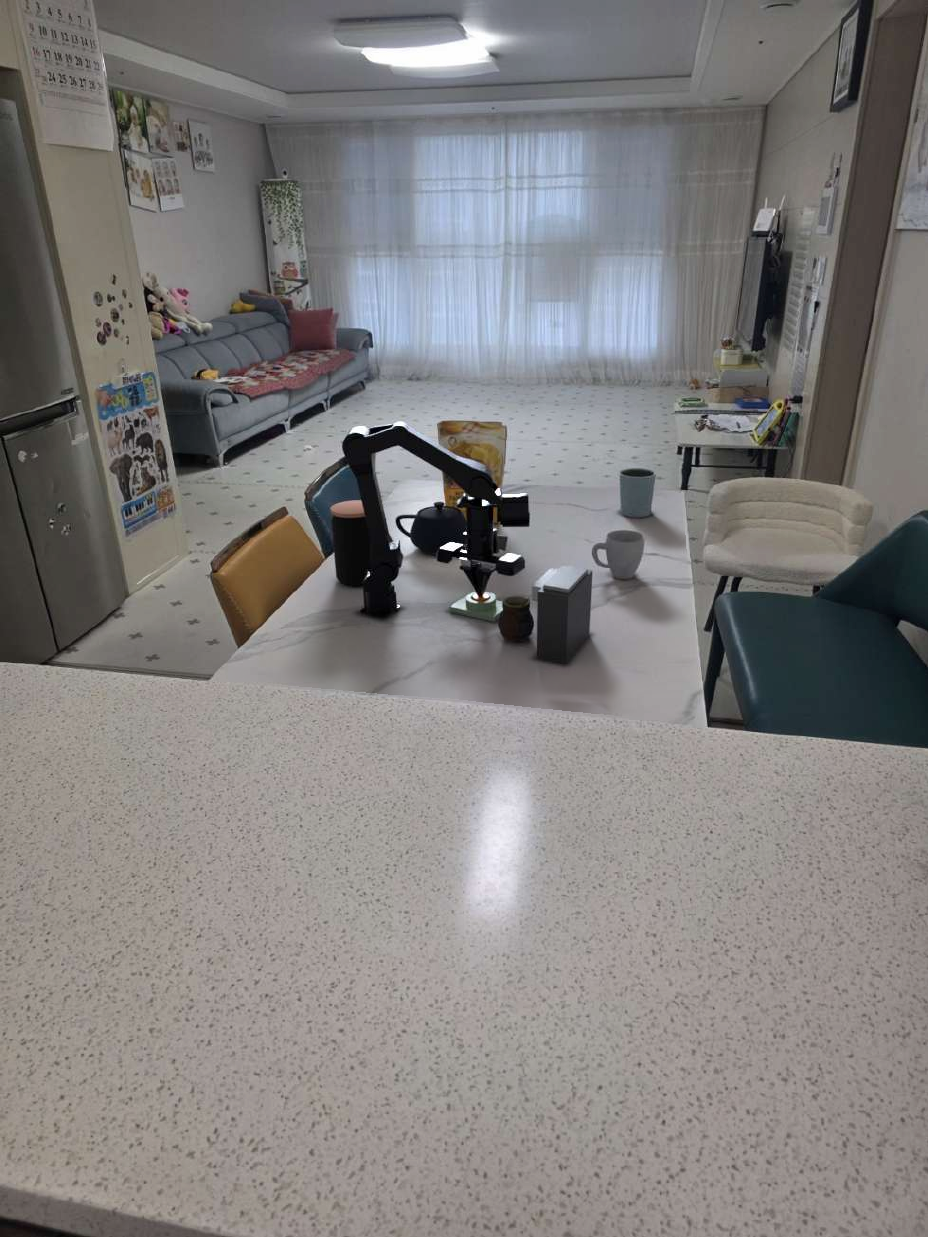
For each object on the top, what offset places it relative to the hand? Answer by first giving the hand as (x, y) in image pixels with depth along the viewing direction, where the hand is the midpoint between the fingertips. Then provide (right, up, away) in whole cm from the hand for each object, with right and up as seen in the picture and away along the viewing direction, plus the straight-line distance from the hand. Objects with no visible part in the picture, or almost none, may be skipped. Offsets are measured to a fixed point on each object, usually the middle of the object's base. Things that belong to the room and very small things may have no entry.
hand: (480, 595), depth 177 cm
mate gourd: (+7, -9, -11) cm, 16 cm away
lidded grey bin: (+15, -10, -15) cm, 23 cm away
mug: (+33, +5, +18) cm, 38 cm away
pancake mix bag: (-1, +23, +57) cm, 62 cm away
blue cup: (+46, +25, +61) cm, 80 cm away
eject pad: (0, -3, +1) cm, 3 cm away
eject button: (0, -2, +1) cm, 2 cm away
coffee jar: (-28, +4, +18) cm, 34 cm away
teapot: (-9, +13, +37) cm, 40 cm away
